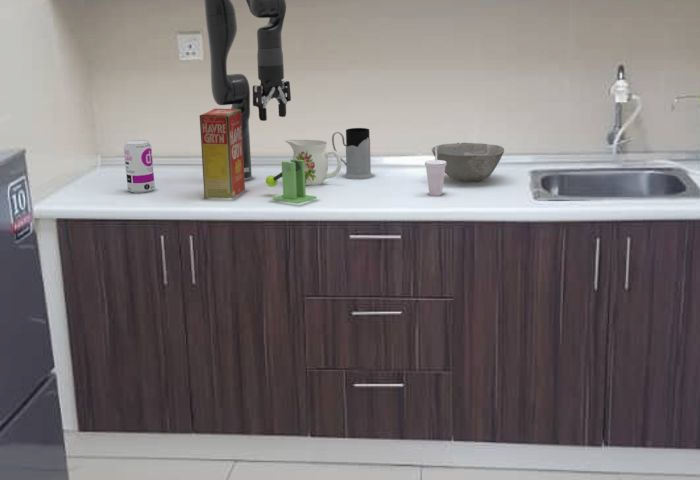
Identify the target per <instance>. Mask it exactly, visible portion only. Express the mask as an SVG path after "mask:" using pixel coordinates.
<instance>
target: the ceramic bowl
mask: <svg viewBox="0 0 700 480" xmlns="http://www.w3.org/2000/svg"><path fill="white" fill-rule="evenodd" d="M435 147H437V160H443V161H446V166H445V173H444V174H445V175H446V176H448V177H449V178H450V179H452V180H453V181H458V182H471V183H472V182H473V183H474V182H475V183H478V182H483V181H485V180H487V179H488V178H489V177H490V176H491V175H492V173H494V171H495V169H496V168H497V166H498V164H499V163H500V162H501V159H502V157H503V155H504V153H505V148H504V146H501V145H498V144H489V143H481V142H480V143H479V142H478V143H477V142H475V143H474V142H456V143H444V144H442V143H441V144H439V145H435V146H433V147H432V148H431V152H432V155H433V156H434V157H435Z"/></svg>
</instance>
